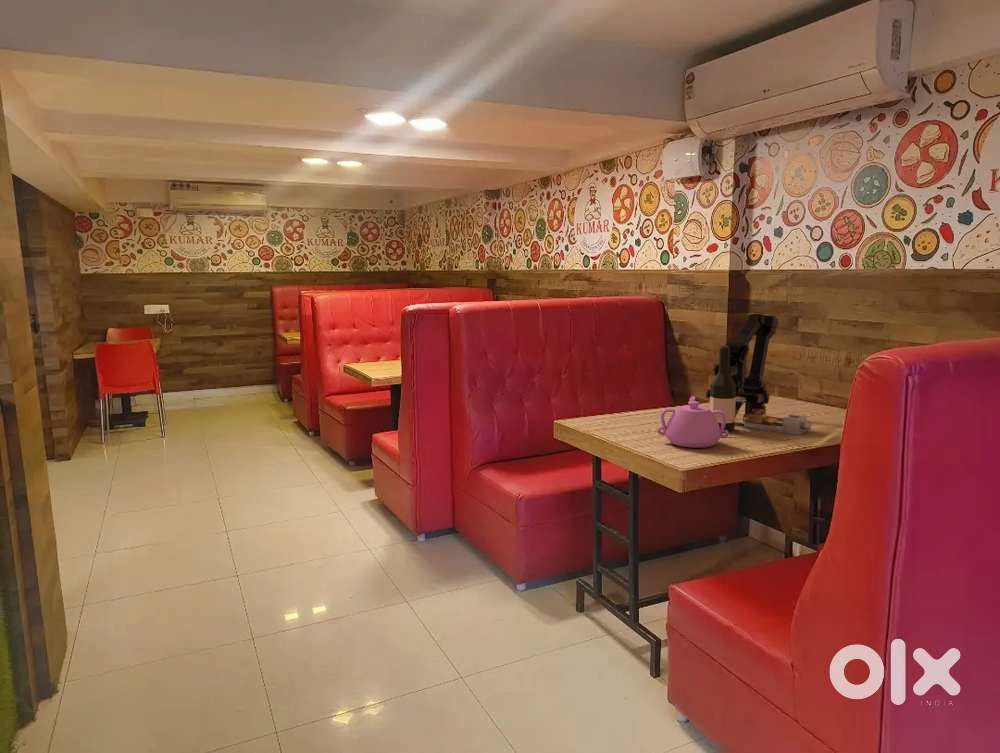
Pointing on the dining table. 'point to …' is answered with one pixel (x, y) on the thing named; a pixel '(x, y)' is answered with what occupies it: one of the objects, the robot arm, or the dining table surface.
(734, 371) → the robot arm
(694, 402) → the purple lidded pot
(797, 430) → the grey metal channel
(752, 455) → the dining table surface
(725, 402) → the wine bottle
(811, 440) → the dining table surface
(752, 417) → the valve
